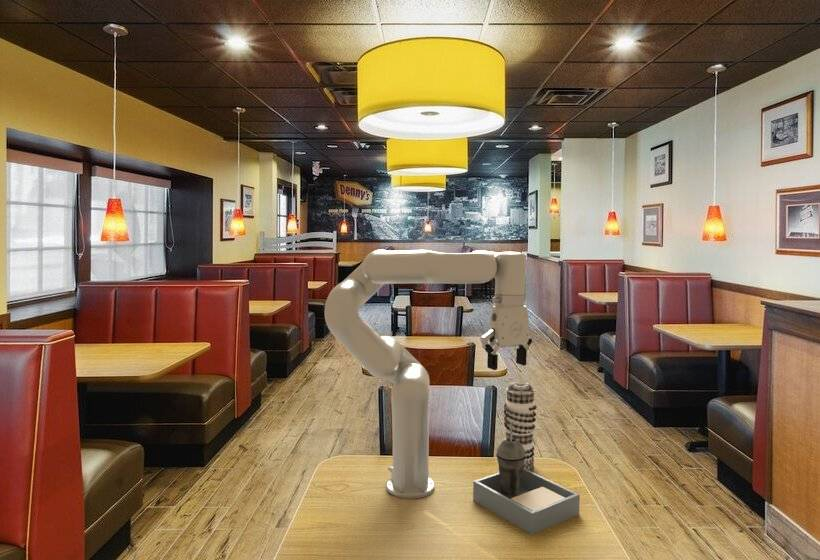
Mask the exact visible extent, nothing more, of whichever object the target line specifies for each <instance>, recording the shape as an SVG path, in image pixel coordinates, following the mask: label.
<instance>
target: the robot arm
mask: <svg viewBox="0 0 820 560" xmlns="http://www.w3.org/2000/svg"><path fill="white" fill-rule="evenodd" d="M526 269H527V256H526V255H525V254H524V253H523V252H519V251H501V252H499V251H498V252H496V251H488V250H483V249H477V250H473V251H472V252H463V253H462V252H460V253H459V252H458V253H457V252H456V253H455V252H453V253H451V252H450V253H449V252H439V251H433V250H429V249H411V250H407V249H406V250H386V249H381V248H380V249H375V250H373V251H371V252H370V253H368V254H367V255H366V256H365V257H364V259H363V261H362V262H361V263H360V265H358V266H357V268H355V269H354V270H353V271H352V272H351V273H350V274H349V275H348V276H347V277H346V278H344V279H343V281H341V282H339V283H338V284H336V286H334V287H333V288H332V289H331V291H330V293H329V294H328V296H327V298H326V301H325V306H324V319H325V323H326V326H327V328H328V330H329V331H330V333H331V334H332V336H333V337H334V338H335V339H336V340H337V341H338V342H339V343H340V344H341V345H342V346H343V347H344V348H345V349H346V350H347V351H348V353H350V354H351V356H353V358H355V360H356V361H358V363H360V365H362V366H363V368H364V369H365V370H366V371H367V372H368V373H369V374H370V375H371V376H373V377H374V378H377V379H383V380H384V379H387V380H388V381H389V382H390V383H392V387H391V421H392V424H391V425H392V427H391V428H392V430H391V431H392V464H391V465H389V466H388V468H387V470H388V471H389V472H390V473H391V478H390V479H389V480H388V481H387V483H386V490H387V492H389V494H391V495H392V496H395V497H398V498H401V499H410V500H411V499H413V500H414V499H420V498H424V497H427V496H429V495H430V494H432V493H433V492H434V491H435V483H434V481H433V480H432V478H430V477H429V467H430V465H429V464H430V463H429V456H430V454H429V447H430V446H429V445H430V441H429V439H430V438H429V437H430V435H429V430H430V429H429V427H430V426H429V425H430V423H429V417H430V416H429V415H430V413H429V412H430V411H429V410H430V409H429V408H430V405H429V403H430V374H429V373H428V371H427V370H426V368H425V367H424V365H422V364H421V362H420V361H419V360H418V359H417V358H415V357H414V356H413V354H412V353H410V351H408V350H407V348H405V347H404V346H403V345H402V343H400V342H399V341H398V340H397V339H395V338H393V337H392V336H389V335H380V334H378V332H376V331H375V329H374V328H372V326H370V325H369V323H367V322H366V321H365V320H364V319H362V317H361V316H360V314H359V310H360V309H361V308H362V307H363V306H364V304H366V302H368V301H369V300H370V299H371V298H372V297H373V296H374V295H375V294H376V293H377V292H378V291H379V290H380V289H381V288H382V287H383V286H384V285H391V284H393V285H396V284H400V285H402V284H430V285H431V284H432V285H434V284H436V285H437V284H445V285H446V284H449V285H455V284H456V285H458V284H459V285H461V284H462V285H466V284H468V285H469V284H485V283H487V282H489V281H491V280H492V279H493V278H494V280H495V281H494V297H493V296H492V298H491V301H492V303H493V306H492V309H491V313H490V319H489V326H488V331H487V332H486V333H484V334H483V335H482V336H480V338H479V340H480V342H481V345H482V348H483V349H484V351H485V353H487V360H486V361H487V363H486V364H487V369H491V370H493V371H497V370H498V362H499V361H498V359H499V357H498V356H499V354H497V353H498V350H499V349H500V348H507V347H509V348H510V347H515V346H517V347H518V348H516V354H515V355H516V356H515V358H516V359H515V363H516V364H519V365H521V366H527V356H528V355H527V354H528V353H527V351H529V349H530V345H531V344H532V342H533V339H534V336H535V331H534V330H532V329H530V324H529V323H530V322H529V321H530V319H529V311H528V307H527V305H525V295H526V293H525V292H526V275H527V274H526V271H527V270H526Z"/></svg>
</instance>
